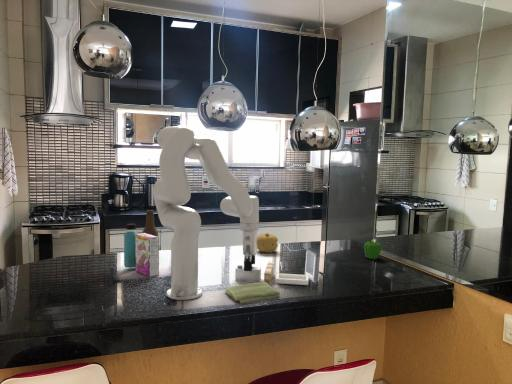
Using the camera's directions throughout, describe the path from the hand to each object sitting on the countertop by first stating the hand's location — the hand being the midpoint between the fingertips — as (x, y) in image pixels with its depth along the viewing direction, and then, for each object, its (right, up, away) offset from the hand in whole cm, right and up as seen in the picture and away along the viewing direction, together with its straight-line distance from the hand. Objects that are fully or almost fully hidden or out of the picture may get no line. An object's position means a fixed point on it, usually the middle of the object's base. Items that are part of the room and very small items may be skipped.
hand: (249, 267), depth 164 cm
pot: (+8, -1, +49) cm, 50 cm away
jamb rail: (+8, -5, 0) cm, 9 cm away
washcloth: (+1, -7, -18) cm, 20 cm away
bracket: (+17, -5, -1) cm, 18 cm away
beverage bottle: (-52, -3, +11) cm, 53 cm away
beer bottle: (-48, -2, +27) cm, 55 cm away
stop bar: (-1, -5, 0) cm, 5 cm away
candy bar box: (-43, -4, +5) cm, 44 cm away
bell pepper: (+61, -3, +40) cm, 73 cm away
